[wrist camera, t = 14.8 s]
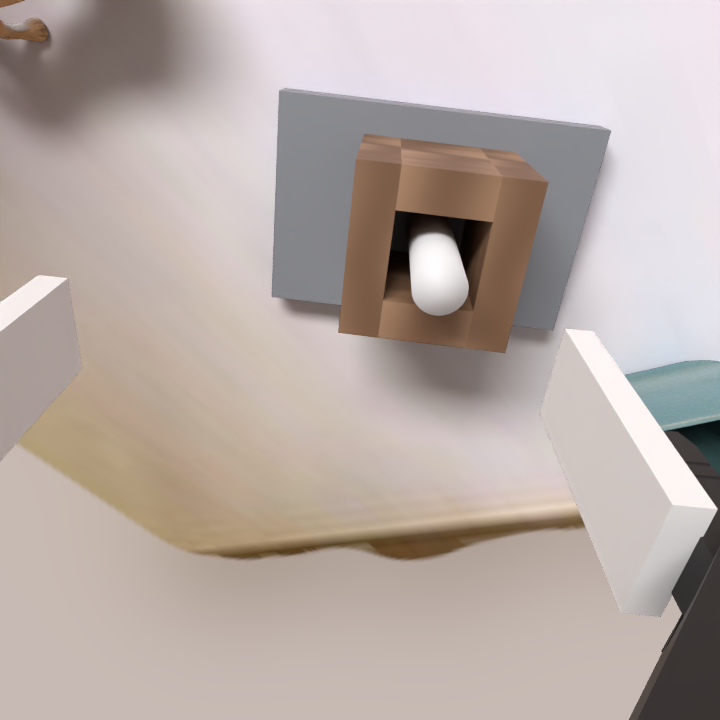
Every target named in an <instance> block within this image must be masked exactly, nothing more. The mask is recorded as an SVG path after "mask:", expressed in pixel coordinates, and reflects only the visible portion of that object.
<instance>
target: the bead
mask: <svg viewBox="0 0 720 720" xmlns="http://www.w3.org/2000/svg"><path fill="white" fill-rule="evenodd" d="M548 183H549V182H548V181H547V180H546V179H545V178H544V177H542V176H541V175H540V174H539V173H538V172H537V171H536V170H535V169H534V168H532V167H531V166H530V165H529V164H528V163H527V162H526V161H525V160H524V159H523V158H521V157H520V156H519V155H518V154H517V153H516V152H510V151H502V150H494V149H486V148H477V147H469V146H461V145H453V144H445V143H437V142H429V141H421V140H412V139H404V138H396V137H388V136H380V135H372V134H364V136H363V139H362V142H361V145H360V148H359V151H358V154H357V157H356V162H355V172H354V182H353V192H352V202H351V212H350V221H349V231H348V241H347V251H346V261H345V271H344V281H343V291H342V301H341V311H340V320H339V330H338V333H345V334H353V335H361V336H370V337H378V338H386V339H394V340H403V341H411V342H419V343H427V344H436V345H444V346H452V347H460V348H469V349H477V350H485V351H493V352H502V353H505V351H506V347H507V343H508V339H509V335H510V331H511V327H512V324H513V320H514V316H515V312H516V308H517V304H518V300H519V296H520V292H521V288H522V285H523V281H524V277H525V273H526V269H527V265H528V261H529V257H530V253H531V249H532V246H533V242H534V238H535V234H536V230H537V226H538V222H539V218H540V214H541V210H542V207H543V203H544V199H545V195H546V191H547V187H548ZM395 210H398V211H406V212H414V213H422V214H430V215H438V216H447V217H455V218H463V219H466V220H465V225H464V230H463V235H462V240H461V245H460V250H459V254H460V257H461V261H462V264H463V267H464V270H465V274H466V277H467V280H468V285H469V291H468V295H467V298H466V300H465V302H464V303H463V305H462V306H461V307H460V308H459V309H457V310H456V311H454V312H452V313H450V314H447V315H441V316H437V315H431V314H428V313H426V312H424V311H422V310H421V309H420V308H419V307H418V306H417V305H416V303H415V302H414V300H413V297H412V291H411V275H410V260H409V252H400V251H392V250H390V247H391V239H392V232H393V225H394V218H395Z"/></svg>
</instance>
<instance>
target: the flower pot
mask: <svg viewBox="0 0 720 720" xmlns="http://www.w3.org/2000/svg"><path fill="white" fill-rule="evenodd" d="M624 376H625V377H626V379H627V380H628V381H629V383H630V384H631V386H632V387H633V389H634V390H635V391H636V393H637V394H638V396H639V397H640V399H641V400H642V402H643V403H644V404H645V406H646V407H647V409H648V410H649V412H650V413H651V414H652V416H653V417H654V419H655V420H656V422H657V423H658V424H659V426H660V427H661V429H662V430H663V431H673V432H679V433H680V434H681V435H683V436H684V437H685V438H686V439H688V440H689V441H690V442H692V443H693V444H694V445H696V446H697V447H698V448H699V449H700V451H701V452H702V453H703V455H704V456H705V457H706V459H707V460H708V461H709V463H710V467H713V468H714V469H715V471H716V472H717V473H718V475H719V476H720V362H719V361H711V360H698V361H684V362H680V363H676V364H671V365H667V366H663V367H659V368H654V369H650V370H645V371H641V372H636V373H632V374H627V375H624Z"/></svg>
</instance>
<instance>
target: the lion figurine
mask: <svg viewBox="0 0 720 720" xmlns="http://www.w3.org/2000/svg"><path fill="white" fill-rule="evenodd" d="M22 1H24V0H0V8H1V7H5V6H9V5H12V4H16V3H19V2H22ZM47 37H48V29H47V28H46V26H45V25H44V23H43V22H42V21H41V20H40V19H38V18H30V19H28V20H26V21H24V22H22V23H18V24H7V23H4V22H2V21H1V20H0V38H3V39H24V40H29V41H35V42H42V41H45V40H46V39H47Z"/></svg>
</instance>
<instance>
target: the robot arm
mask: <svg viewBox="0 0 720 720" xmlns="http://www.w3.org/2000/svg"><path fill="white" fill-rule="evenodd" d="M81 370H82V364H81V358H80V351H79V345H78V339H77V332H76V326H75V320H74V313H73V307H72V301H71V294H70V288H69V282H68V278H62V277H52V276H42V275H38V276H36V277H35V278H34V279H32V280H31V281H29V282H28V283H27V284H25V285H24V286H22V287H21V288H20V289H18V290H17V291H15V292H14V293H13V294H11V295H10V296H8V297H7V298H6V299H4V300H3V301H1V302H0V461H1V460H2V459H3V458H4V457H5V456H6V455H7V453H8V452H9V451H10V450H11V449H12V448H13V447H14V445H15V444H16V443H17V442H18V441H19V440H20V439H21V438H22V436H23V435H24V434H25V433H26V432H27V431H28V430H29V429H30V427H31V426H32V425H33V424H34V423H35V422H36V421H37V419H38V418H39V417H40V416H41V415H42V414H43V413H44V412H45V410H46V409H47V408H48V407H49V406H50V405H51V404H52V403H53V401H54V400H55V399H56V398H57V397H58V396H59V395H60V393H61V392H62V391H63V390H64V389H65V388H66V387H67V386H68V384H69V383H70V382H71V381H72V380H73V379H74V378H75V377H76V375H77V374H78V373H79V372H80V371H81ZM540 417H541V419H542V421H543V424H544V426H545V429H546V431H547V434H548V436H549V439H550V441H551V443H552V446H553V448H554V451H555V453H556V456H557V458H558V461H559V463H560V465H561V468H562V470H563V473H564V475H565V478H566V480H567V483H568V485H569V487H570V490H571V492H572V495H573V497H574V500H575V502H576V505H577V507H578V509H579V512H580V514H581V517H582V519H583V522H584V524H585V527H586V529H587V531H588V534H589V536H590V539H591V541H592V544H593V546H594V548H595V551H596V554H597V556H598V558H599V561H600V563H601V566H602V568H603V571H604V573H605V575H606V578H607V580H608V583H609V585H610V588H611V590H612V593H613V595H614V598H615V600H616V602H617V605H618V607H619V610H620V612H621V613H625V614H635V615H646V616H657V617H661V615H662V613H663V611H664V610H665V608H666V606H667V604H668V602H669V600H670V598H671V596H672V595H673V597H674V599H675V601H676V603H677V605H678V607H679V609H680V610H681V612H682V615H681V617H680V619H679V621H678V622H677V624H676V626H675V628H674V630H673V631H672V633H671V635H670V637H669V638H668V640H667V642H666V644H665V646H664V648H663V649H662V654H661V656H660V658H659V660H658V662H657V664H656V666H655V668H654V670H653V672H652V674H651V676H650V678H649V680H648V682H647V685H646V686H645V689H644V690H643V692H642V694H641V696H640V699H639V700H638V702H637V704H636V706H635V708H634V710H633V713H632V714H631V716H630V718H629V720H720V476H719V475H718V473H717V472H716V471H715V469H714V468H713V467H710V463H709V461H708V460H707V459H706V457H705V456H704V455H703V453H702V452H701V451H700V449H699V448H698V447H697V446H696V445H694V444H693V443H692V442H690V441H689V440H688V439H686V438H685V437H684V436H683V435H681V434H680V433H679V432H673V431H663V430H662V429H661V427H660V426H659V424H658V423H657V422H656V420H655V419H654V417H653V416H652V414H651V413H650V412H649V410H648V409H647V407H646V406H645V404H644V403H643V402H642V400H641V399H640V397H639V396H638V394H637V393H636V391H635V390H634V389H633V387H632V386H631V384H630V383H629V381H628V380H627V379H626V377H625V376H624V374H623V373H622V371H621V370H620V369H619V367H618V366H617V364H616V363H615V361H614V360H613V359H612V357H611V356H610V354H609V353H608V351H607V350H606V349H605V347H604V346H603V344H602V343H601V341H600V340H599V339H598V337H597V336H596V334H595V333H594V331H585V330H575V329H565V330H564V333H563V337H562V340H561V343H560V347H559V350H558V353H557V357H556V360H555V363H554V367H553V370H552V374H551V377H550V380H549V384H548V387H547V390H546V394H545V397H544V400H543V404H542V407H541V410H540Z"/></svg>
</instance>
